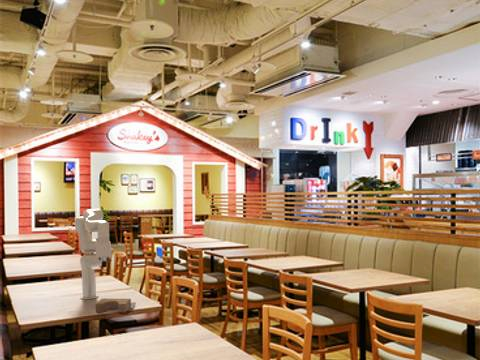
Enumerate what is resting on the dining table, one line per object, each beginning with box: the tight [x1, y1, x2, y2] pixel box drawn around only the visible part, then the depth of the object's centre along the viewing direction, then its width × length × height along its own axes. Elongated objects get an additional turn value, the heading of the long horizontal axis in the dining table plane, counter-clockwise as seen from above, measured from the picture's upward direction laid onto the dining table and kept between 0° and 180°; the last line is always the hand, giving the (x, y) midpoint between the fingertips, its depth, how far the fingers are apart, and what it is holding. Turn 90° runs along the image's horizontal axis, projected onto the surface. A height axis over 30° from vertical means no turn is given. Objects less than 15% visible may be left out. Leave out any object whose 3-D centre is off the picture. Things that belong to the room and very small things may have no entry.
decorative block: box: [95, 298, 132, 313], centre depth 305 cm, size 11×6×20 cm
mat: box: [105, 301, 136, 312], centre depth 313 cm, size 16×20×1 cm
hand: (104, 267), depth 315 cm, fingers closed
